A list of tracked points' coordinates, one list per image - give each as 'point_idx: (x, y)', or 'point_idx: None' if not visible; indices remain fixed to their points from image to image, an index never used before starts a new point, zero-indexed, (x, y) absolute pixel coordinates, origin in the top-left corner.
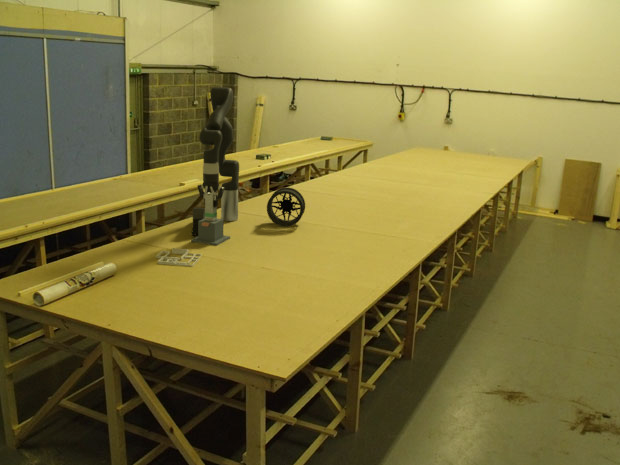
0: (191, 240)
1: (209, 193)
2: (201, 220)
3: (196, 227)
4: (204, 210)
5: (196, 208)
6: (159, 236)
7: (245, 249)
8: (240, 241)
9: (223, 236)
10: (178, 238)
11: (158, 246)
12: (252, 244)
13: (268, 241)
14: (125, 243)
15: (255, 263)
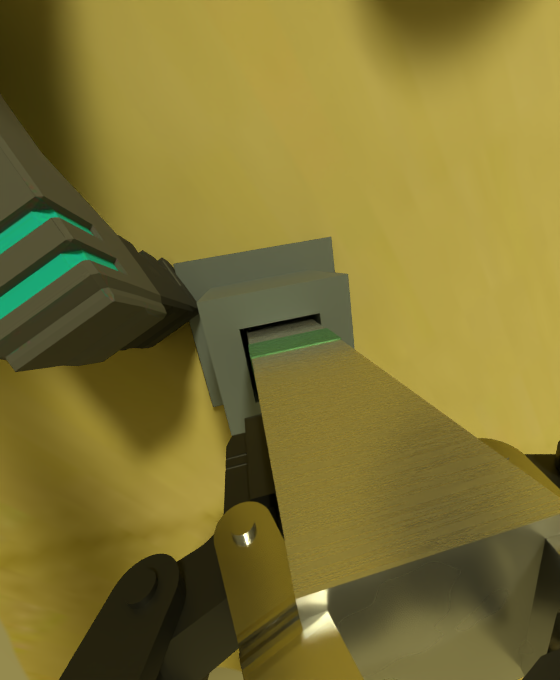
0: (215, 404)
1: (368, 640)
2: (235, 407)
3: (150, 334)
4: (115, 279)
5: (26, 338)
6: (24, 441)
7: (461, 337)
8: (396, 252)
9: (304, 262)
10: (126, 405)
11: (161, 524)
12: (461, 257)
13: (510, 160)
14: (24, 584)
15: (539, 430)
